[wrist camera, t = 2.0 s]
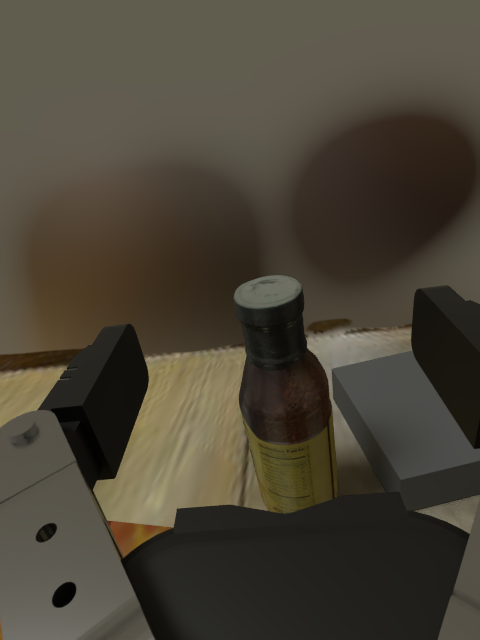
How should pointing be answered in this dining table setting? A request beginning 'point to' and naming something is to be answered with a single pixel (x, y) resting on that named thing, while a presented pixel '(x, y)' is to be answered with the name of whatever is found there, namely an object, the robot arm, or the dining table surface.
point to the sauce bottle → (284, 398)
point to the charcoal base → (406, 431)
